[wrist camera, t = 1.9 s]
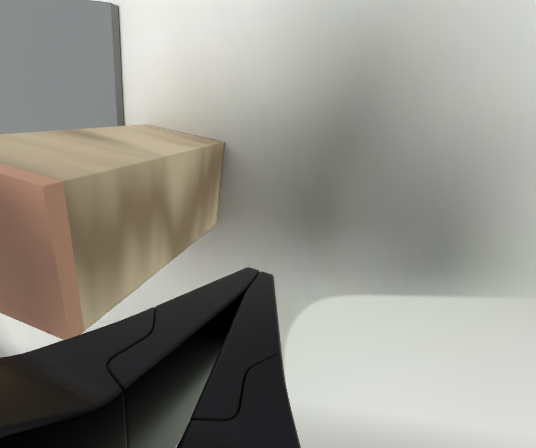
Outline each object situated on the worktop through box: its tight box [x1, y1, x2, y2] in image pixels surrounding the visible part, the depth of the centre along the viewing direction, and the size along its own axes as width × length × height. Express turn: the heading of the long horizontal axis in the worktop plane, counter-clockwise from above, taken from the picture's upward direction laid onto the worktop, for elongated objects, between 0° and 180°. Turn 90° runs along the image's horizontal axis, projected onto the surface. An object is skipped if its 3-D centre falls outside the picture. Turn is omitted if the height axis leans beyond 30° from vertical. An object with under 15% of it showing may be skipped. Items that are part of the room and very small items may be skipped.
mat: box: [0, 0, 124, 134], centre depth 19 cm, size 16×14×1 cm
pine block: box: [0, 125, 225, 340], centre depth 12 cm, size 5×5×10 cm
